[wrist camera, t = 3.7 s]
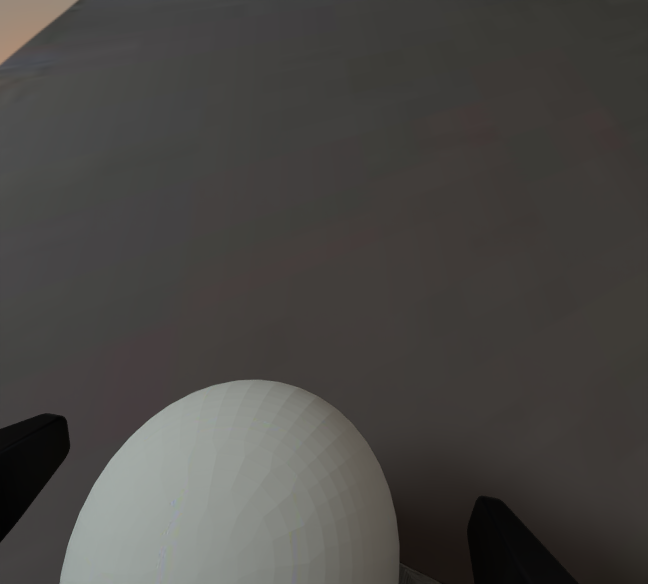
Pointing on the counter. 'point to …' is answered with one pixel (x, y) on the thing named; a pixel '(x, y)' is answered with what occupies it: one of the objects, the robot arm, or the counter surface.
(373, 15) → the counter surface
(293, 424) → the light bulb
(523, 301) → the counter surface
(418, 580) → the grey rectangular frame
